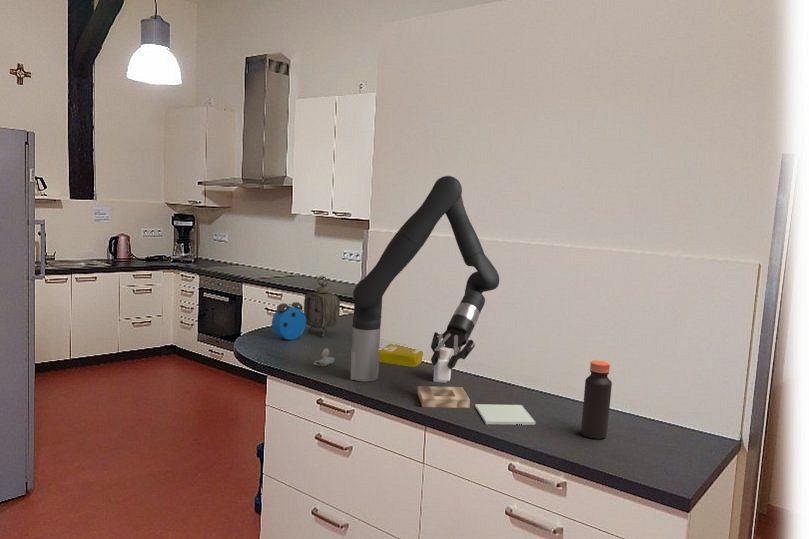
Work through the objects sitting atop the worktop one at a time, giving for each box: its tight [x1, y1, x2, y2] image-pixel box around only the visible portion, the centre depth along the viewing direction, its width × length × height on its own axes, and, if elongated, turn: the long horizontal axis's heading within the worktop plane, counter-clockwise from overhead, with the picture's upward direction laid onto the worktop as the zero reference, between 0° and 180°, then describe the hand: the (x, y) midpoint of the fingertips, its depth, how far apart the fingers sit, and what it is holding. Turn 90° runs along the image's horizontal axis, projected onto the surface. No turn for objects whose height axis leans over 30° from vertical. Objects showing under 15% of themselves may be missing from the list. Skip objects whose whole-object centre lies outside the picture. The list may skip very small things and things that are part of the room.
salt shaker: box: [437, 348, 452, 382], centre depth 193 cm, size 4×4×10 cm
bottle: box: [580, 360, 613, 440], centre depth 171 cm, size 7×7×20 cm
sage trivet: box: [475, 403, 537, 426], centre depth 184 cm, size 14×14×1 cm
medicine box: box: [432, 362, 448, 384], centre depth 215 cm, size 8×4×9 cm, turn 168°
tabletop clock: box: [303, 275, 341, 338], centre depth 271 cm, size 14×9×25 cm, turn 43°
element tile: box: [379, 343, 423, 368], centre depth 238 cm, size 15×15×5 cm
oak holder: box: [417, 385, 471, 409], centre depth 194 cm, size 14×12×2 cm
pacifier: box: [313, 348, 335, 367], centre depth 226 cm, size 7×6×6 cm
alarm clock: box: [271, 301, 307, 341], centre depth 260 cm, size 13×6×15 cm, turn 133°
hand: (441, 365), depth 191 cm, fingers closed on salt shaker, 5 cm apart
